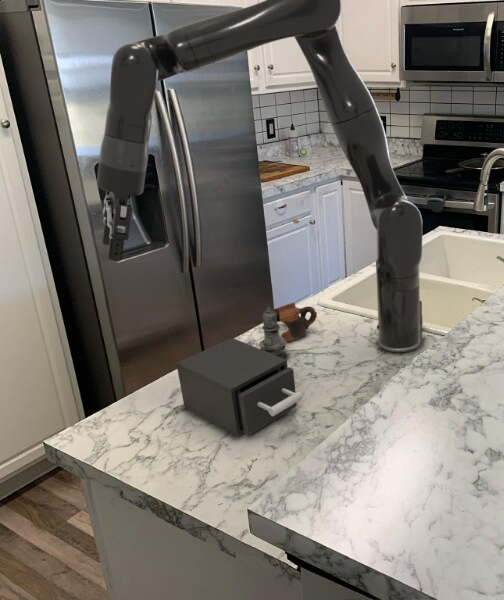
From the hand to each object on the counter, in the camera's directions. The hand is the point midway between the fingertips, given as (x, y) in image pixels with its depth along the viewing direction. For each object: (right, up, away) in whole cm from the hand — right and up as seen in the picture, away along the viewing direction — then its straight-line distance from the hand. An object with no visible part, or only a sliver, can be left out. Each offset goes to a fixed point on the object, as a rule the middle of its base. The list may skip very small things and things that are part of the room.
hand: (111, 251), depth 111 cm
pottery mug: (+27, -17, +33) cm, 46 cm away
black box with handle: (+26, -29, +1) cm, 39 cm away
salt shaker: (+25, -21, +21) cm, 39 cm away
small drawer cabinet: (+22, -29, +4) cm, 36 cm away
